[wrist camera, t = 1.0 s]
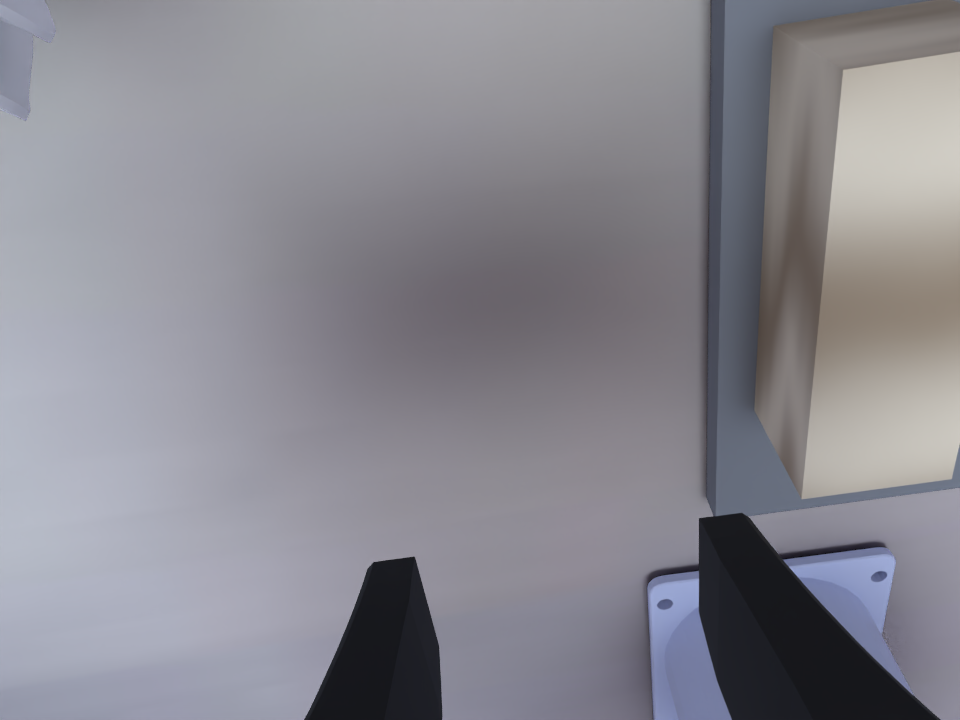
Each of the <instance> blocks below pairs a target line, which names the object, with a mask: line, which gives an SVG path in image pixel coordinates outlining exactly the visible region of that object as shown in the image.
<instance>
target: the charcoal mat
mask: <svg viewBox="0 0 960 720" xmlns="http://www.w3.org/2000/svg"><path fill="white" fill-rule="evenodd" d="M925 1H932V0H711V94H710V194H709V294H708V394H707V494H706V498H707V500H708V503H709V505H710V508H711V510H712V513H713V515H714V516H721V515H728V514H736V513H743V514H745V515H746V516H753V515H760V514H768V513H775V512H782V511H790V510H797V509H805V508H812V507H820V506H827V505H834V504H842V503H849V502H857V501H864V500H872V499H879V498H887V497H894V496H901V495H909V494H916V493H924V492H931V491H939V490H946V489H954V488H960V445H959V449H958V454H957V458H956V462H955V467H954V471H953V475H952V479H949V480H942V481H934V482H927V483H919V484H912V485H905V486H897V487H890V488H882V489H875V490H868V491H860V492H853V493H845V494H838V495H831V496H823V497H816V498H808V499H801V497H800V496H799V494H798V492H797V490H796V488H795V486H794V484H793V482H792V480H791V479H790V477H789V475H788V473H787V471H786V469H785V467H784V465H783V463H782V462H781V460H780V458H779V456H778V454H777V452H776V450H775V448H774V446H773V445H772V443H771V441H770V439H769V437H768V435H767V433H766V431H765V429H764V428H763V426H762V424H761V422H760V420H759V418H758V416H757V414H756V413H755V411H754V407H755V387H756V367H757V347H758V327H759V306H760V286H761V266H762V246H763V226H764V206H765V186H766V166H767V146H768V126H769V106H770V85H771V65H772V45H773V26H776V25H782V24H788V23H794V22H801V21H807V20H813V19H819V18H826V17H832V16H838V15H844V14H850V13H857V12H863V11H869V10H875V9H882V8H888V7H894V6H900V5H907V4H913V3H919V2H925ZM953 1H956V2H959V3H960V0H953Z"/></svg>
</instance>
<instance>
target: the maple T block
mask: <svg viewBox="0 0 960 720" xmlns="http://www.w3.org/2000/svg"><path fill="white" fill-rule="evenodd" d="M754 411H755V413H756V414H757V416H758V418H759V420H760V422H761V424H762V426H763V428H764V429H765V431H766V433H767V435H768V437H769V439H770V441H771V443H772V445H773V446H774V448H775V450H776V452H777V454H778V456H779V458H780V460H781V462H782V463H783V465H784V467H785V469H786V471H787V473H788V475H789V477H790V479H791V480H792V482H793V484H794V486H795V488H796V490H797V492H798V494H799V496H800V497H801V499H808V498H816V497H823V496H831V495H838V494H845V493H853V492H860V491H868V490H875V489H882V488H890V487H897V486H905V485H912V484H919V483H927V482H934V481H942V480H949V479H952V475H953V471H954V467H955V462H956V458H957V454H958V449H959V445H960V3H959V2H956V1H953V0H932V1H925V2H919V3H913V4H907V5H900V6H894V7H888V8H882V9H875V10H869V11H863V12H857V13H850V14H844V15H838V16H832V17H826V18H819V19H813V20H807V21H801V22H794V23H788V24H782V25H776V26H773V45H772V65H771V85H770V106H769V126H768V146H767V166H766V186H765V206H764V226H763V246H762V266H761V286H760V306H759V327H758V347H757V367H756V387H755V407H754Z"/></svg>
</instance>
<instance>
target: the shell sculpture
mask: <svg viewBox="0 0 960 720" xmlns="http://www.w3.org/2000/svg"><path fill="white" fill-rule="evenodd" d="M55 33H56V29H55V25H54V22H53V19H52V16H51V14H50V11H49V9H48V6H47V4H46V2H45V0H0V110H2V111H4V112H7V113H9V114H11V115H14V116H16V117H18V118H20V119H23V120H25V121H26V120H27V117H28V115H29V113H30V103H29V88H30V77H31V69H32V59H33V35H34V36H36V37H38V38H40V39H42V40H44V41H46V42H49V43H50V42H51V41H52V39H53V37H54V35H55Z"/></svg>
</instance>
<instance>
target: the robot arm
mask: <svg viewBox="0 0 960 720" xmlns="http://www.w3.org/2000/svg"><path fill="white" fill-rule="evenodd" d="M895 565H896V560H895V558H894V556H893V554H892V553H891V551H890V550H889V549H887V548H884V547H876V548H868V549H860V550H853V551H845V552H838V553H830V554H822V555H815V556H807V557H800V558H792V559H785V560H783V559H782V558H781V557H780V556H779V555H778V553H777V552H776V551H775V550H774V548H773V547H772V546H771V545H770V544H769V542H768V541H767V540H766V539H765V537H764V536H763V535H762V533H761V532H760V531H759V530H758V528H757V527H756V526H755V525H754V523H753V522H752V521H751V519H750V518H749V517H748V516H746V515H745V514H743V513H736V514H728V515H721V516H713V517H706V518H699V571H693V572H686V573H678V574H671V575H663V576H659V577H656V578H654V579H652V580H651V581H650V582H649V584H648V587H647V593H648V614H649V635H650V656H651V676H652V697H653V718H654V720H940V719H939V718H938V717H937V716H936V715H934V714H933V713H932V712H931V711H930V710H929V709H928V708H927V707H925V706H924V705H923V704H922V703H921V702H920V701H919V700H918V699H917V698H916V697H915V696H914V694H913V692H912V691H911V689H910V687H909V685H908V683H907V681H906V679H905V678H904V676H903V674H902V672H901V670H900V668H899V666H898V665H897V663H896V661H895V659H894V657H893V655H892V653H891V652H890V650H889V648H888V646H887V644H886V642H885V641H884V639H883V637H882V631H883V626H884V621H885V616H886V611H887V606H888V601H889V595H890V590H891V585H892V580H893V575H894V570H895ZM664 599H665V600H664ZM304 720H442V697H441V675H440V656H439V644H438V641H437V637H436V633H435V630H434V626H433V622H432V619H431V615H430V611H429V607H428V604H427V600H426V596H425V593H424V589H423V585H422V582H421V578H420V574H419V571H418V567H417V563H416V560H415V557H409V558H401V559H394V560H386V561H379V562H373V564H372V565H371V566H370V567H369V568H368V569H367V572H366V576H365V579H364V582H363V585H362V588H361V590H360V593H359V596H358V599H357V602H356V604H355V607H354V610H353V612H352V615H351V617H350V620H349V622H348V625H347V627H346V630H345V632H344V635H343V637H342V639H341V642H340V644H339V647H338V649H337V651H336V654H335V656H334V658H333V660H332V662H331V665H330V667H329V669H328V671H327V673H326V676H325V678H324V680H323V682H322V684H321V687H320V689H319V691H318V693H317V695H316V697H315V700H314V702H313V704H312V706H311V708H310V710H309V712H308V714H307V716H306V718H305V719H304Z"/></svg>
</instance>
